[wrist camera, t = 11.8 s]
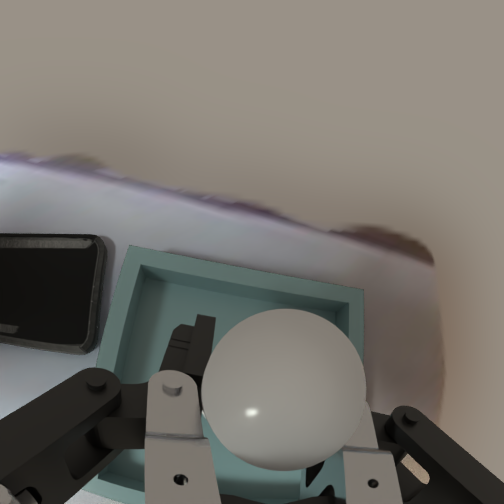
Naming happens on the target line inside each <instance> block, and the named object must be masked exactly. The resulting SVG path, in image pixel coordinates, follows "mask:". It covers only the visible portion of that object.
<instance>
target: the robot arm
mask: <svg viewBox="0 0 504 504" xmlns="http://www.w3.org/2000/svg"><path fill="white" fill-rule="evenodd" d="M215 323H216V317H212V316H207V315H201V314H197V317H196V321H195V325H194V326H191V325H186V324H180V325H179V326H178V327H176V328H175V329H173V332H172V335H171V337H170V340H169V343H168V347H167V349H166V352H165V354H164V357H163V360H162V363H161V366H160V369H159V372H157V373H155V374H154V375H152V376H151V378H150V379H149V381H148V382H145V383H140V384H121V383H120V380H119V378H118V377H117V376H116V375H115V374H114V373H112V372H111V371H109V370H106V369H103V368H87V369H84V370H82V371H80V372H78V373H76V374H75V375H73V376H72V377H70V378H68V379H67V380H65V381H63V382H62V383H60V384H59V385H57V386H55V387H54V388H52V389H50V390H49V391H47V392H45V393H44V394H42V395H41V396H39V397H37V398H36V399H34V400H32V401H31V402H29V403H27V404H26V405H24V406H22V407H21V408H19V409H17V410H16V411H14V412H12V413H11V414H9V415H7V416H6V417H4V418H2V419H1V420H0V504H64V503H65V502H66V501H68V500H69V499H70V498H71V497H72V496H73V495H75V494H76V493H77V492H78V491H79V490H80V489H81V488H83V487H84V486H85V485H86V484H87V483H88V482H89V481H91V480H92V479H93V478H94V477H95V476H96V475H97V474H98V473H100V472H101V471H102V470H103V469H104V468H105V467H106V466H107V465H108V464H109V463H111V462H112V461H113V460H114V459H115V458H116V457H117V456H118V455H119V454H120V453H121V452H122V451H123V450H124V449H145V504H265V503H261V502H257V501H253V500H249V499H245V498H242V497H238V496H235V495H228V494H219V490H218V485H217V480H216V475H215V469H214V464H213V458H212V453H211V447H210V442H209V439H208V438H207V437H204V435H203V429H202V422H201V415H202V410H203V407H202V402H201V384H202V379H203V375H204V372H205V369H206V366H207V364H208V361H209V359H210V356H211V353H212V346H213V338H214V331H215ZM407 453H408V454H409V455H410V456H411V457H412V458H413V459H414V460H415V461H416V462H417V463H418V464H420V465H421V466H422V467H423V468H424V469H425V470H426V471H427V472H428V474H429V477H430V480H429V483H428V484H424V483H422V482H421V481H420V480H419V479H418V478H417V477H415V476H414V475H413V474H412V473H411V472H410V471H409V470H408V469H407V468H406V467H405V466H404V465H403V464H402V463H401V461H402V459H403V458H404V457H405V456H406V455H407ZM285 504H504V483H503V482H502V481H501V480H500V479H498V478H497V477H496V476H495V475H494V474H492V473H491V472H490V471H489V470H488V469H486V468H485V467H484V466H483V465H482V464H481V463H479V462H478V461H477V460H476V459H475V458H474V457H472V456H471V455H470V454H469V453H468V452H467V451H465V450H464V449H463V448H462V447H461V446H459V445H458V444H457V443H456V442H455V441H454V440H452V439H451V438H450V437H449V436H448V435H447V434H445V433H444V432H443V431H442V430H441V429H440V428H439V427H437V426H436V425H435V424H434V423H433V422H432V421H430V420H429V419H428V418H427V417H426V416H425V415H423V414H422V413H421V412H420V411H418V410H417V409H415V408H413V407H409V406H399V407H397V408H395V409H394V410H393V412H392V414H391V415H390V416H389V415H385V414H380V413H376V412H372V411H370V407H369V405H368V403H367V402H366V401H365V406H364V410H363V414H362V417H361V419H360V422H359V424H358V426H357V428H356V429H355V431H354V433H353V434H352V436H351V437H350V438H349V440H348V441H347V442H346V443H345V444H344V445H343V447H342V448H341V449H339V450H338V451H337V452H336V453H335V454H333V455H332V456H331V457H329V458H327V459H326V460H324V461H322V462H320V463H318V464H316V465H314V466H311V467H308V468H304V469H301V485H300V494H299V498H298V500H297V501H293V502H289V503H285Z"/></svg>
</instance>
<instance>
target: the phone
mask: <svg viewBox="0 0 504 504" xmlns="http://www.w3.org/2000/svg"><path fill="white" fill-rule="evenodd" d="M106 259H107V250H106V247H105V245H104V242H103V241H102V239H101V238H100V237H98V236H96V235H91V234H12V233H0V343H5V344H10V345H15V346H21V347H27V348H33V349H39V350H45V351H52V352H59V353H67V354H75V355H85V354H87V353H90V352H91V351H92V350H93V349H94V348H95V346H96V344H97V340H98V329H99V317H100V306H101V297H102V288H103V280H104V273H105V266H106ZM97 326H98V328H97Z"/></svg>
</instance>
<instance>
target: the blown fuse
mask: <svg viewBox="0 0 504 504" xmlns="http://www.w3.org/2000/svg"><path fill="white" fill-rule="evenodd" d="M365 400H366V378H365V372H364V368H363V365H362V362H361V359H360V357H359V355H358V353H357V351H356V349H355V347H354V346H353V344H352V343H351V341H350V340H349V339H348V338H347V336H346V335H345V334H344V333H343V332H342V331H341V330H340V329H338V328H337V327H336V326H335V325H334V324H332V323H331V322H329V321H328V320H326V319H324V318H322V317H320V316H318V315H315V314H313V313H310V312H306V311H302V310H296V309H275V310H268V311H265V312H261V313H258V314H255V315H253V316H251V317H248V318H247V319H245V320H243V321H241V322H240V323H238V324H237V325H236V326H234V327H233V328H232V329H231V330H229V332H228V333H227V334H226V335H225V336H224V337H223V338H222V339H221V340H220V342H219V343H218V344H217V346H216V347H215V349H214V351H213V352H212V354H211V356H210V359H209V361H208V364H207V366H206V369H205V372H204V375H203V379H202V384H201V402H202V407H203V410H202V414H203V415H204V417H205V418H206V419H207V421H208V423H209V425H210V427H211V429H212V430H213V432H214V433H215V435H216V436H217V438H218V439H219V440H220V442H221V443H222V444H223V445H224V446H225V447H226V448H227V449H228V450H229V451H230V452H231V453H233V454H234V455H235V456H236V457H238V458H240V459H241V460H243V461H245V462H247V463H249V464H251V465H253V466H256V467H259V468H263V469H267V470H273V471H294V470H300V469H304V468H308V467H311V466H314V465H316V464H318V463H320V462H322V461H324V460H326V459H327V458H329V457H331V456H332V455H333V454H335V453H336V452H337V451H338V450H339V449H341V448H342V447H343V445H344V444H345V443H346V442H347V441H348V440H349V438H350V437H351V436H352V434H353V433H354V431H355V429H356V428H357V426H358V424H359V422H360V419H361V417H362V414H363V410H364V406H365Z"/></svg>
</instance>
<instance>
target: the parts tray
mask: <svg viewBox="0 0 504 504" xmlns="http://www.w3.org/2000/svg"><path fill="white" fill-rule="evenodd" d="M275 309H296V310H302V311H306V312H310V313H313V314H315V315H318V316H320V317H322V318H324V319H326V320H328V321H329V322H331V323H332V324H334V325H335V326H336V327H337V328H338V329H340V330H341V331H342V332H343V333H344V334H345V335H346V336H347V338H348V339H349V340H350V341H351V343H352V344H353V346H354V347H355V349H356V351H357V353H358V355H359V357H360V359H361V362H362V365H363V354H364V290H363V289H358V288H352V287H346V286H341V285H335V284H329V283H324V282H318V281H313V280H307V279H302V278H296V277H291V276H285V275H280V274H274V273H269V272H264V271H258V270H253V269H248V268H243V267H237V266H232V265H227V264H222V263H217V262H212V261H206V260H201V259H196V258H191V257H186V256H181V255H176V254H171V253H166V252H161V251H156V250H151V249H146V248H141V247H137V246H132V245H129V248H128V251H127V254H126V257H125V260H124V263H123V266H122V269H121V272H120V276H119V279H118V282H117V285H116V289H115V292H114V296H113V299H112V303H111V306H110V310H109V314H108V317H107V321H106V325H105V329H104V333H103V337H102V341H101V345H100V350H99V354H98V358H97V363H96V368H103V369H106V370H109V371H111V372H112V373H114V374H115V375H116V376H117V377H118V378H119V380H120V383H121V384H140V383H145V382H148V381H149V379H150V378H151V376H152V375H154V374H155V373H157V372H159V369H160V366H161V363H162V360H163V357H164V354H165V352H166V349H167V347H168V343H169V340H170V337H171V335H172V332H173V329H175V328H176V327H178V326H179V325H180V324H186V325H191V326H194V325H195V321H196V317H197V314H201V315H207V316H212V317H216V323H215V331H214V338H213V346H212V352H213V351H214V349H215V347H216V346H217V344H218V343H219V342H220V340H221V339H222V338H223V337H224V336H225V335H226V334H227V333H228V332H229V330H231V329H232V328H233V327H234V326H236V325H237V324H238V323H240V322H241V321H243V320H245V319H247V318H248V317H251V316H253V315H255V314H258V313H261V312H265V311H268V310H275ZM211 354H212V353H211ZM201 422H202V429H203V435H204V437H207V438H208V439H209V442H210V447H211V453H212V458H213V464H214V469H215V475H216V480H217V485H218V490H219V494H228V495H235V496H238V497H242V498H245V499H249V500H253V501H257V502H261V503H265V504H285V503H289V502H293V501H297V500H298V498H299V494H300V485H301V469H300V470H294V471H273V470H267V469H263V468H259V467H256V466H253V465H251V464H249V463H247V462H245V461H243V460H241V459H240V458H238V457H236V456H235V455H234V454H233V453H231V452H230V451H229V450H228V449H227V448H226V447H225V446H224V445H223V444H222V443H221V442H220V440H219V439H218V438H217V436H216V435H215V433H214V432H213V430H212V429H211V427H210V425H209V423H208V421H207V419H206V418H205V417H204V415H203V414H202V415H201ZM81 489H82V490H85V491H88V492H90V493H93V494H96V495H99V496H102V497H105V498H108V499H111V500H115V501H118V502H122V503H125V504H145V449H124V450H123V451H122V452H121V453H120V454H119V455H118V456H117V457H116V458H115V459H114V460H113V461H112V462H111V463H109V464H108V465H107V466H106V467H105V468H104V469H103V470H102V471H101V472H100V473H98V474H97V475H96V476H95V477H94V478H93V479H92V480H91V481H89V482H88V483H87V484H86V485H85V486H84V487H83V488H81Z"/></svg>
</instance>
